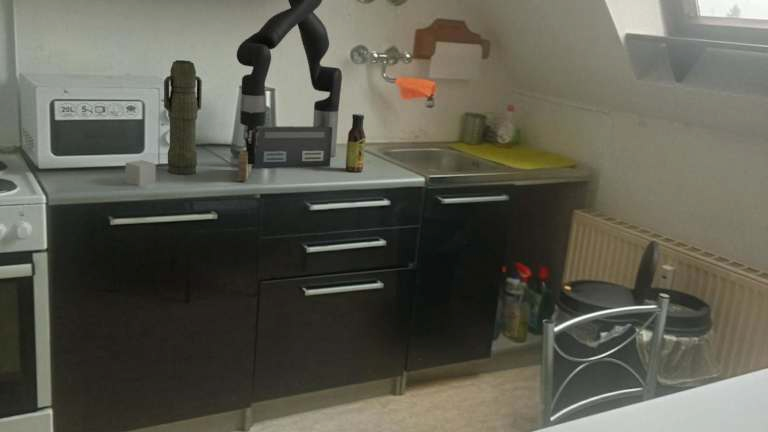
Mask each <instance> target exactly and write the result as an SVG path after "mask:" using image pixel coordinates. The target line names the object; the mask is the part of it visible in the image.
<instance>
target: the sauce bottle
mask: <svg viewBox="0 0 768 432" xmlns="http://www.w3.org/2000/svg"><path fill="white" fill-rule="evenodd" d="M351 117H352V124H351V126H352V127H351V129H349V130H348V134H347V140H346V141H347V142H346V143H347V144H346V153H345V154H346V156H345V170H346V171H347V172H352V173H359V172H362V171H363V168H364V161H365V149H366V134H365V131H364V119H365V115H364V114H361V113H353V114H352V116H351Z"/></svg>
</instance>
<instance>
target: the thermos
mask: <svg viewBox="0 0 768 432" xmlns="http://www.w3.org/2000/svg"><path fill="white" fill-rule="evenodd" d="M196 71H197V70H196V68H195V63H193V62H192V61H190V60H179V59H178V60H177V59H176V60H175V61H172V65H171V68H170V75H169V76H166V77H165V79H164V81H163V108H165V109H166V110H167V117H168V119H169V147H168V150H167V165H168V169H167V171H168V173H169V174H172V175H175V176H176V175H178V176H190V175H195V174H197V164H198V163H197V162H198V160H197V158H198V152H197V148H196V126H197V125H196V121H197V119H198V111H199V110H201V109H202V94H203V93H202V88H203V86H202V83H203V82H202V79H201V77H200V76H197V72H196Z"/></svg>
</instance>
